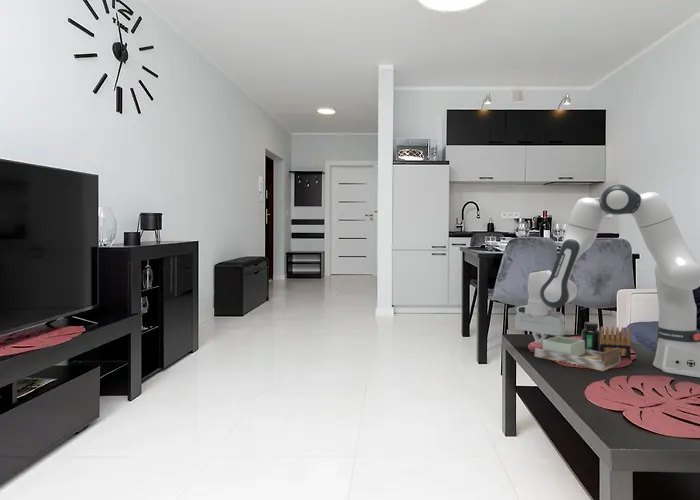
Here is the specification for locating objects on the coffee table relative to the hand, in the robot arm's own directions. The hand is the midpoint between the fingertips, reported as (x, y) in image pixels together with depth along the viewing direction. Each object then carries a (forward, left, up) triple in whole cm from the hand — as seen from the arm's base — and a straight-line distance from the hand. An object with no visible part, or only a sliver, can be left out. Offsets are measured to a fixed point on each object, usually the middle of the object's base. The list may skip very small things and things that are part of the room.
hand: (539, 343), depth 194 cm
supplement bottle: (-14, -14, -4) cm, 20 cm away
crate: (-10, 0, -2) cm, 10 cm away
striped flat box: (-15, 0, -4) cm, 15 cm away
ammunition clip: (-23, -14, -4) cm, 27 cm away
